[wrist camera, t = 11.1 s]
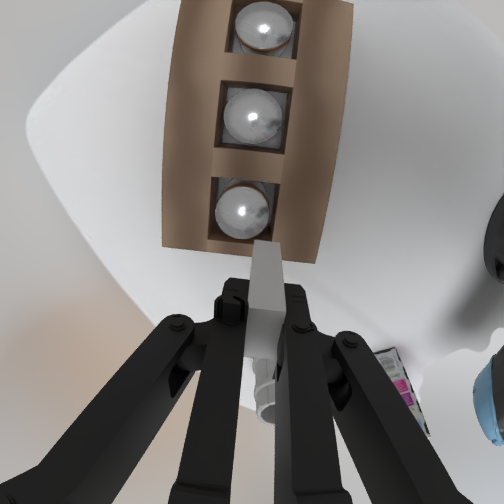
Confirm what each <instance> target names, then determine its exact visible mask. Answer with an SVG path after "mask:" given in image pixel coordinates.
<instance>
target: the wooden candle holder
mask: <svg viewBox="0 0 504 504" xmlns="http://www.w3.org/2000/svg"><path fill="white" fill-rule="evenodd" d="M256 2H271V3H275V4H278V5H280V6H281V7H283V8H284V9H285V10H287V12H288V13H289V14H290V16H291V18H292V21H295V22H296V24H295V33H294V42H293V50H292V59H288V58H281V57H273V56H265V55H255V54H243V53H232V49H233V42H234V35H235V27H236V26H235V22H236V18H237V15H238V14H239V12H240V11H241V10H242V9H243V8H244V7H246V6H248V5H250V4H252V3H256ZM353 6H354V4H352V3H348V2H345V1H341V0H181V5H180V10H179V15H178V21H177V26H176V32H175V38H174V45H173V51H172V58H171V66H170V74H169V82H168V92H167V102H166V113H165V126H164V142H163V163H162V247H168V248H177V249H186V250H195V251H204V252H212V253H221V254H230V255H239V256H248V257H252V255H253V247H254V240H262V241H270V242H279V243H280V248H281V258H282V260H285V261H294V262H303V263H313V264H315V262H316V257H317V253H318V249H319V244H320V240H321V235H322V230H323V226H324V221H325V216H326V211H327V206H328V201H329V196H330V191H331V185H332V180H333V175H334V169H335V163H336V157H337V151H338V145H339V139H340V132H341V125H342V118H343V111H344V104H345V96H346V88H347V79H348V70H349V60H350V49H351V37H352V23H353ZM228 87H232V88H245V89H259V90H265V91H273V92H281V93H287V100H286V108H285V116H284V124H283V131H282V139H281V147H280V149H275V148H267V147H259V146H250V145H240V144H229V143H222V136H223V126H224V110H225V107H226V98H227V89H228ZM219 177H222V178H233V179H243V180H252V181H261V182H269V183H276V184H275V191H274V198H273V205H272V213H271V220H270V226H266V227H265V228H264V229H263V230H262V232H260V233H259V234H258V235H256V236H254V237H252V238H248V239H237V238H233V237H231V236H229V235H227V234H226V233H225V232H223V231H222V230H221V228H220V227H219V225H218V223H217V221H216V216H215V210H216V205H217V193H218V181H219Z"/></svg>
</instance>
